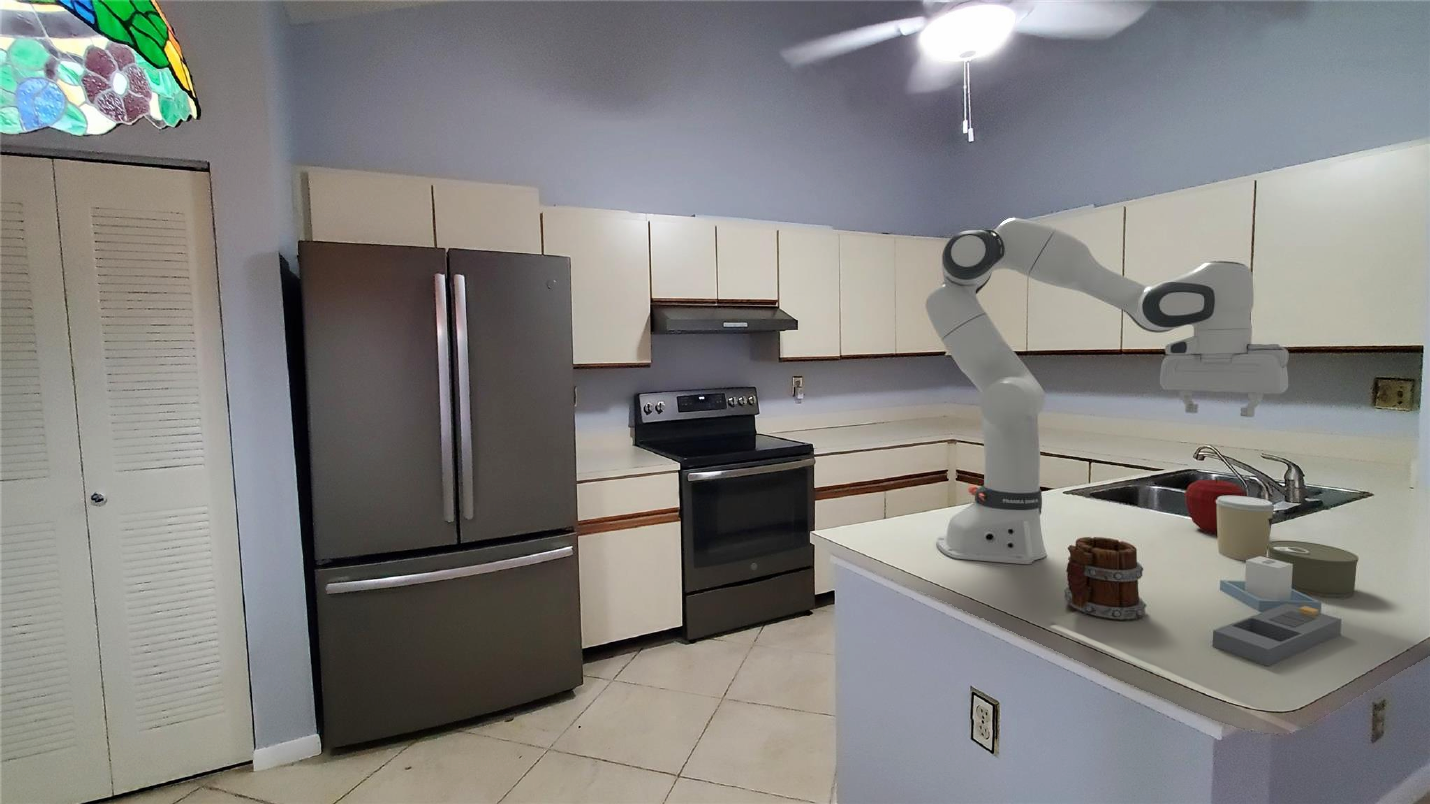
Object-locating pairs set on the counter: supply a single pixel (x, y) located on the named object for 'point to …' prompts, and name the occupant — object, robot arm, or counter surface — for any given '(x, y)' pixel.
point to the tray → (1262, 605)
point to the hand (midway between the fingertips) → (1218, 414)
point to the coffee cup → (1243, 526)
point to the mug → (1104, 579)
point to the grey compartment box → (1277, 633)
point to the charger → (1268, 578)
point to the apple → (1208, 501)
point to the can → (1317, 568)
